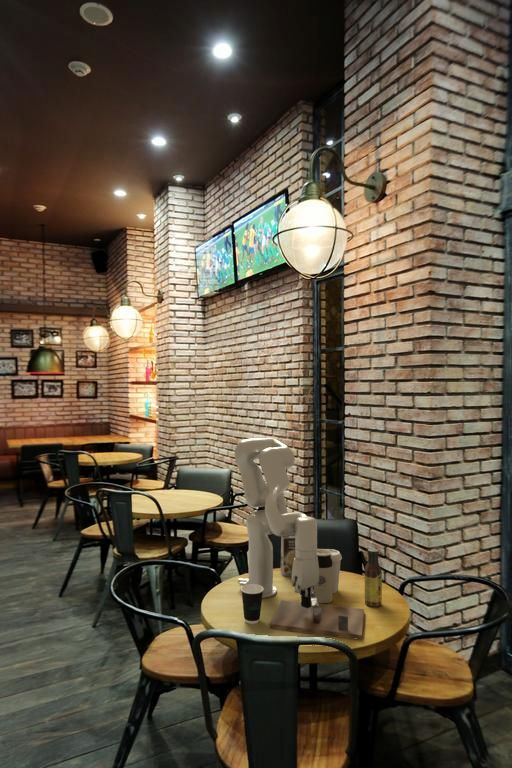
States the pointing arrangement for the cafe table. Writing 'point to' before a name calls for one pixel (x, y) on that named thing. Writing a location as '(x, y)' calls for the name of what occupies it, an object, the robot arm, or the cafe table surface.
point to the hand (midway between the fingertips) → (306, 606)
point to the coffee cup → (335, 569)
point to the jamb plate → (330, 624)
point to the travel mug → (324, 576)
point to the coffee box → (287, 554)
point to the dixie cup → (252, 602)
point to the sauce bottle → (373, 580)
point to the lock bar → (315, 608)
